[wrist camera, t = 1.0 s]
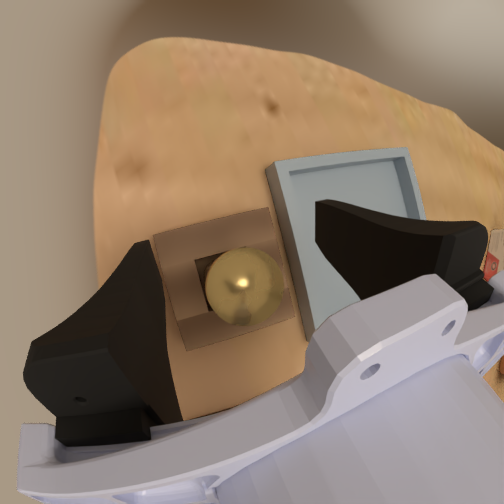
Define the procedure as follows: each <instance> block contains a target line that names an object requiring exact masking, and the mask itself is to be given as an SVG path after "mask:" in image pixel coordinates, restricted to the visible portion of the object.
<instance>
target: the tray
mask: <svg viewBox="0 0 504 504" xmlns="http://www.w3.org/2000/svg"><path fill="white" fill-rule="evenodd" d="M265 172H266V175H267V179H268V183H269V186H270V190H271V194H272V198H273V202H274V205H275V209H276V213H277V217H278V221H279V225H280V229H281V233H282V237H283V241H284V245H285V249H286V253H287V257H288V261H289V265H290V270H291V274H292V278H293V282H294V286H295V291H296V295H297V299H298V304H299V308H300V312H301V317H302V321H303V326H304V330H305V335H306V339H307V341H308V342H310V340H311V337H312V335H313V333H314V331H315V330H316V329H317V328H318V327H319V326H320V325H321V324H322V323H323V322H324V321H325V320H326V319H327V318H328V317H329V316H330V315H332V314H334V313H336V312H337V311H339V310H341V309H343V308H344V307H346V306H348V305H351V304H353V303H356V302H359V301H361V300H360V298H359V297H358V295H357V294H356V293H355V292H354V290H353V289H352V288H351V287H350V286H349V284H348V283H347V282H346V281H345V280H344V279H343V278H342V276H341V275H340V274H339V273H338V272H337V271H336V270H335V269H334V267H333V266H332V265H331V264H330V263H329V262H328V260H327V259H326V258H325V257H324V255H323V254H322V252H321V251H320V249H319V247H318V246H317V244H316V243H315V201H320V200H325V199H331V200H337V201H341V202H345V203H349V204H352V205H356V206H360V207H363V208H367V209H370V210H374V211H378V212H382V213H386V214H390V215H395V216H400V217H406V218H412V219H420V220H426V216H425V211H424V207H423V202H422V198H421V194H420V190H419V186H418V182H417V178H416V175H415V171H414V168H413V164H412V161H411V157H410V154H409V151H408V148H407V147H401V148H386V149H374V150H362V151H352V152H342V153H333V154H325V155H317V156H309V157H302V158H295V159H288V160H282V161H275V162H273V163H272V164H271V165H270V166H269V167H268V168H267V169H265Z"/></svg>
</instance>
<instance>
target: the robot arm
mask: <svg viewBox="0 0 504 504" xmlns="http://www.w3.org/2000/svg"><path fill="white" fill-rule="evenodd" d="M315 243H316V244H317V246H318V247H319V249H320V251H321V252H322V254H323V255H324V257H325V258H326V259H327V260H328V262H329V263H330V264H331V265H332V266H333V267H334V269H335V270H336V271H337V272H338V273H339V274H340V275H341V276H342V278H343V279H344V280H345V281H346V282H347V283H348V284H349V286H350V287H351V288H352V289H353V290H354V292H355V293H356V294H357V295H358V297H359V298H360V300H361V301H359V302H356V303H353V304H351V305H348V306H346V307H344V308H343V309H341V310H339V311H337V312H336V313H334V314H332V315H330V316H329V317H328V318H327V319H326V320H325V321H324V322H323V323H322V324H321V325H320V326H319V327H318V328H317V329H316V330H315V331H314V333H313V335H312V337H311V340H310V342H309V345H308V347H307V350H306V354H305V368H304V371H303V372H302V373H300V374H298V375H297V376H295V377H293V378H291V379H289V380H288V381H286V382H284V383H282V384H280V385H278V386H276V387H274V388H272V389H271V390H269V391H267V392H265V393H263V394H261V395H259V396H257V397H255V398H253V399H251V400H248V401H246V402H244V403H242V404H240V405H238V406H236V407H234V408H231V409H229V410H226V411H223V412H219V413H216V414H213V415H209V416H205V417H200V418H196V419H191V420H186V421H183V418H182V415H181V411H180V407H179V403H178V399H177V395H176V391H175V387H174V382H173V378H172V373H171V368H170V363H169V357H168V351H167V341H166V315H165V297H164V290H163V284H162V279H161V276H160V273H159V270H158V267H157V264H156V261H155V258H154V255H153V252H152V248H151V245H150V242H149V240H145V241H141V242H137V243H134V245H133V246H132V247H131V248H130V250H129V251H128V253H127V254H126V256H125V257H124V258H123V260H122V261H121V263H120V264H119V265H118V267H117V268H116V269H115V271H114V272H113V273H112V275H111V276H110V277H109V278H108V280H107V281H106V282H105V283H104V285H103V286H102V287H101V288H100V289H99V290H98V291H97V292H96V293H95V294H94V295H93V296H92V297H91V298H90V299H89V300H88V301H87V302H86V303H85V304H84V305H83V306H82V307H80V308H79V309H78V310H77V311H76V312H75V313H74V314H72V315H71V316H70V317H69V318H67V319H66V320H65V321H63V322H62V323H60V324H59V325H58V326H56V327H55V328H53V329H52V330H50V331H48V332H47V333H45V334H43V335H42V336H40V337H38V338H37V339H35V340H33V341H32V342H31V346H30V349H29V352H28V356H27V360H26V363H25V367H24V371H23V378H24V382H25V384H26V386H27V388H28V389H29V390H30V392H31V393H32V394H33V395H34V397H35V398H36V399H38V400H39V401H40V402H41V403H42V404H43V405H44V406H45V407H46V408H47V409H48V410H49V411H50V412H51V413H52V414H54V415H55V416H56V426H54V425H51V424H48V423H23V424H22V425H21V432H20V441H19V452H18V468H17V490H18V491H19V492H20V493H22V494H24V495H26V496H28V497H30V498H33V499H35V500H37V501H39V502H42V503H44V504H504V403H503V402H502V400H501V399H500V398H499V397H498V395H497V394H496V393H495V392H494V390H493V389H492V388H491V387H490V386H489V384H488V383H487V382H486V381H485V380H484V378H483V376H484V375H485V374H486V373H487V372H488V371H489V370H490V369H491V367H492V366H493V365H494V364H495V363H496V362H497V361H498V360H499V359H500V358H501V357H502V356H503V355H504V271H503V270H501V271H499V272H498V273H497V274H495V275H494V276H492V277H491V278H490V279H489V281H488V282H486V281H485V280H484V279H482V278H483V277H484V275H485V274H484V272H483V271H481V270H480V266H481V263H482V260H483V257H484V254H485V251H486V247H487V243H488V232H487V229H486V227H485V226H483V225H482V224H480V223H479V222H477V221H429V220H420V219H412V218H406V217H400V216H395V215H390V214H386V213H382V212H378V211H374V210H370V209H367V208H363V207H360V206H356V205H352V204H349V203H345V202H341V201H337V200H331V199H325V200H320V201H315Z"/></svg>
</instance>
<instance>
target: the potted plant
mask: <svg viewBox="0 0 504 504" xmlns="http://www.w3.org/2000/svg"><path fill="white" fill-rule="evenodd" d="M499 371H500V373H502V374H503V375H504V355H503V356H502V358H501V361H500V367H499Z"/></svg>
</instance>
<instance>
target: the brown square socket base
mask: <svg viewBox="0 0 504 504" xmlns="http://www.w3.org/2000/svg"><path fill="white" fill-rule="evenodd" d="M153 237H154V241H155V245H156V249H157V253H158V257H159V261H160V265H161V269H162V272H163V276H164V280H165V283H166V287H167V290H168V294H169V297H170V301H171V304H172V307H173V311H174V314H175V317H176V320H177V324H178V327H179V330H180V333H181V336H182V339H183V342H184V345H185V348H186V351H190V350H193V349H197V348H200V347H204V346H207V345H211V344H214V343H217V342H221V341H224V340H227V339H230V338H234V337H237V336H240V335H243V334H246V333H249V332H252V331H255V330H258V329H261V328H264V327H267V326H270V325H273V324H276V323H279V322H282V321H285V320H288V319H290V318H293V317H295V314H294V310H293V305H292V301H291V297H290V293H289V288H288V284H287V280H286V276H285V272H284V268H283V263H282V259H281V255H280V251H279V247H278V243H277V239H276V235H275V231H274V227H273V223H272V220H271V216H270V212H269V208H268V207H266V208H261V209H257V210H252V211H248V212H244V213H239V214H235V215H231V216H227V217H223V218H218V219H214V220H210V221H206V222H202V223H198V224H194V225H190V226H186V227H182V228H178V229H174V230H171V231H167V232H163V233H159V234H155V235H153ZM245 247H248V248H255V249H258V250H261V251H263V252H265V253H267V254H268V255H269V256H271V257H272V258H273V259H274V260H275V262H276V263H277V264H278V266H279V268H280V270H281V272H282V275H283V280H284V292H283V297H282V300H281V302H280V304H279V306H278V308H277V309H276V311H275V312H274V313H273V314H272V315H271V316H270V317H269V318H268V319H266V320H265V321H263V322H261V323H259V324H256V325H252V326H236V325H233V324H230V323H228V322H226V321H224V320H223V319H222V318H220V317H219V316H218V315H217V314H216V313H215V311H214V310H213V309H212V307H211V306H210V305H208V306H207V304H206V301H205V297H204V294H203V290H202V287H201V283H200V279H199V276H198V272H197V268H196V264H195V261H194V260H196V259H199V258H203V257H207V256H211V255H214V254H218V253H222V252H226V251H229V250H232V249H236V248H245Z"/></svg>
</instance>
